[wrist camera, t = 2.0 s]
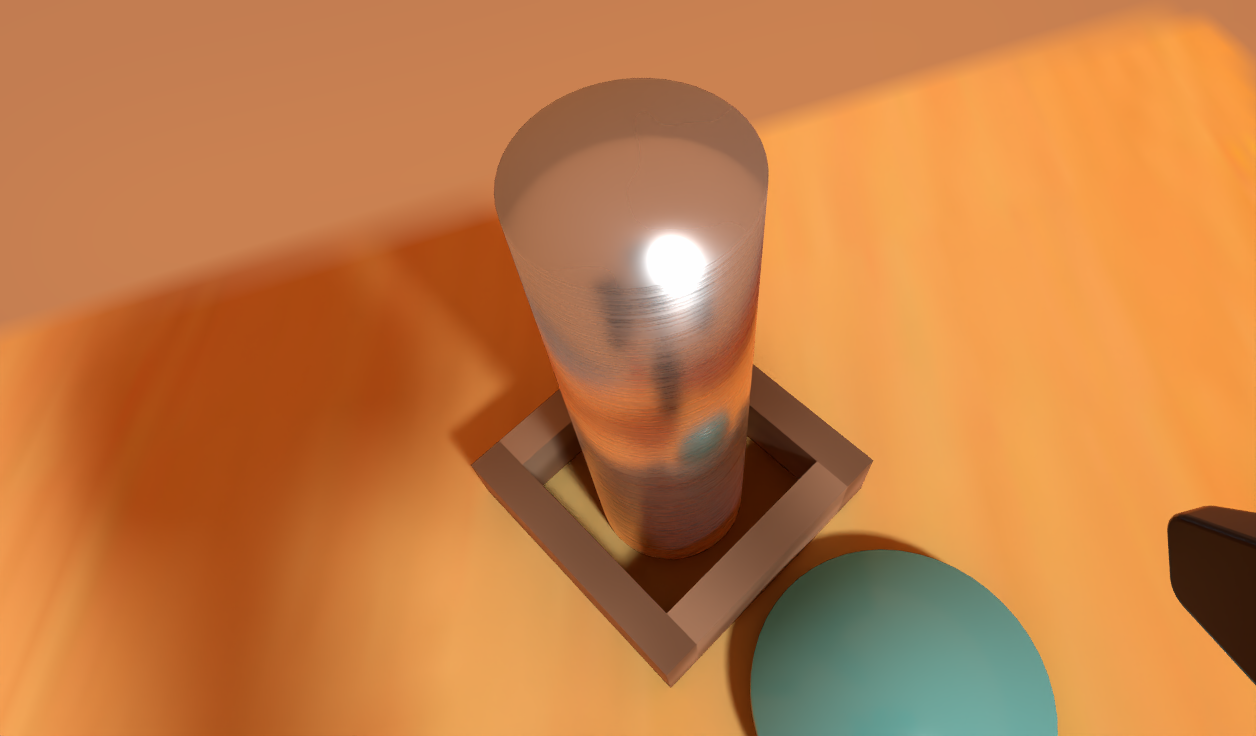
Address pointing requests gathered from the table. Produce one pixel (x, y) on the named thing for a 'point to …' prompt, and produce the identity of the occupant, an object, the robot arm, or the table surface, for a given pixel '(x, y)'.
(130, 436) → the table surface
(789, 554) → the open brown square box
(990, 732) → the shiny teal dome
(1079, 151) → the table surface
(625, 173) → the peg
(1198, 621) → the robot arm
